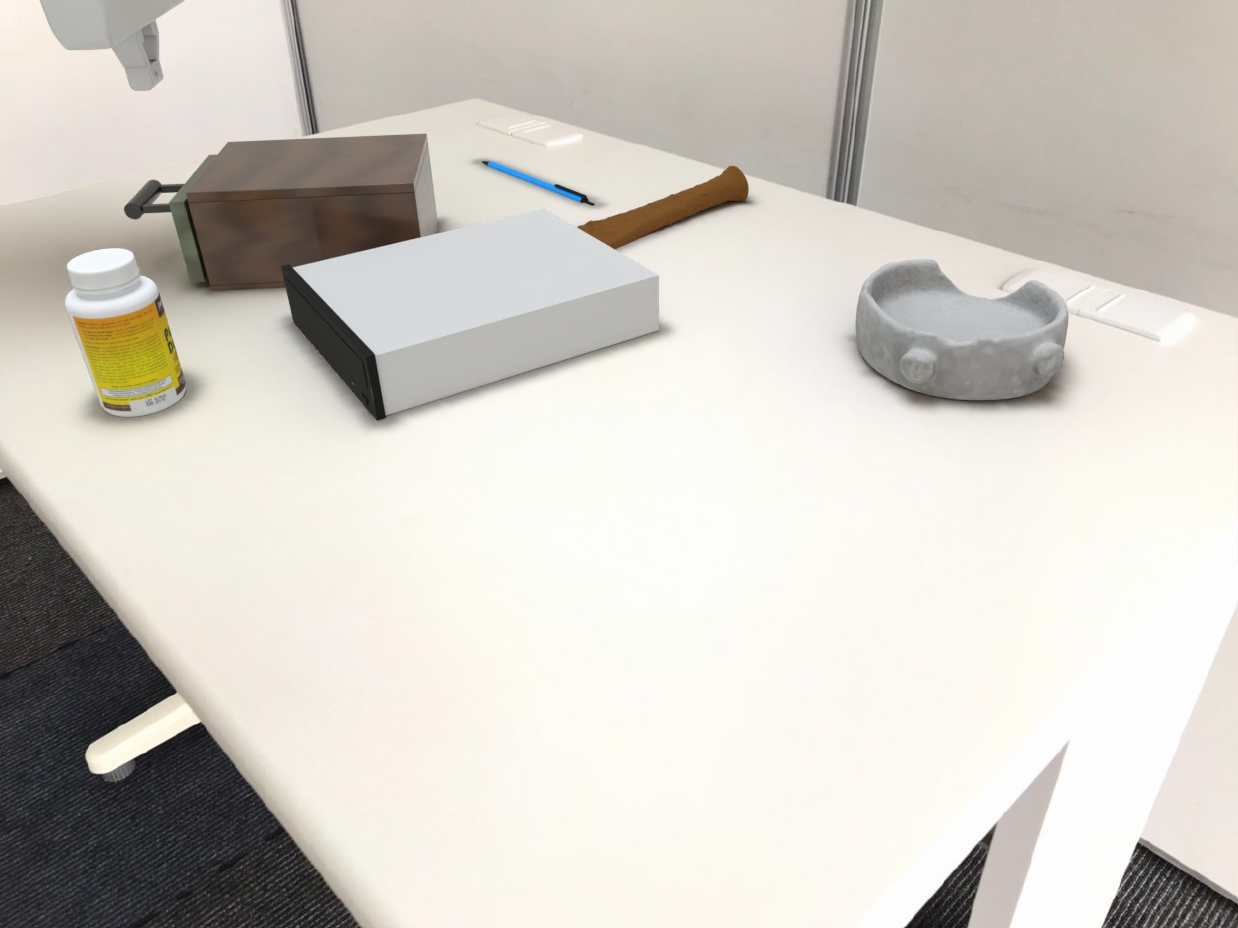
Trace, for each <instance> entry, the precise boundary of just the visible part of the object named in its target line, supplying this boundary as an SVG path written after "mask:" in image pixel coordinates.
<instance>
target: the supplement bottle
mask: <svg viewBox="0 0 1238 928" xmlns="http://www.w3.org/2000/svg"><path fill="white" fill-rule="evenodd" d="M138 265H139V264H137V260H136V257H135V254H134V253H133V252H132V251H131V250H129V249H125V248H118V247H117V248H116V247H112V248H101V249H95V250H91V251H87V252H85V253H82V254H80V255H77V256H75V257H73V258H72V259H70V260H69V261H68V262H67V264H66V270H67V273H68V276H69V279H70V283H71V285H72V289H71V290H70V291H69V292H67V295H66V297H65V299H64V306H65V311H66V313H67V316H68V319H69V322H70V325H71V328H72V330H73V334H74V336H75V339H76V342H77V345H78V347H79V350H80V353H81V356H82V358H83V361H84V364H85V367H86V370H87V372H88V375H89V378H90V381H91V383H92V386H93V389H94V393H95V394H96V397H97V400H98V402H99V404H100V406H101V408H102V409H103V410H104V411H105V412H106V413H108V414H110V415H112V416H116V417H121V418H123V417H124V418H134V417H143V416H147V415H152V414H155V413H158V412H161V411H164V410H166V409H168V408H170V407H172V406H173V405H175V404H177V403H178V402H179V401H180V400H181V399H182V398H183V397H184V395H185V394H186V391H187V383H186V379H185V375H184V371H183V368H182V364H181V362H180V359H179V355H178V351H177V348H176V345H175V342H174V339H173V334H172V330H171V328H170V324H169V321H168V318H167V314H166V311H165V307H164V304H163V301H162V297H161V294H160V291H159V288H158V285H157V284H156V283H155V281H154V280H153V279H151V278H149V277H147V276H145V275H141V272H140V271H141V270H140V267H139V266H138Z"/></svg>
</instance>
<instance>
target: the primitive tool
mask: <svg viewBox="0 0 1238 928" xmlns="http://www.w3.org/2000/svg"><path fill="white" fill-rule="evenodd" d="M749 192H750V189H749V182H748V179H747V177H746V175H745V174H744V172H743V171H742V170H741V169H740V168H739V167H738V166H736V165H729V166H728V167H727V168H726V169H724V170H723V171H722V172H721V174H719V175H716V176H714V177H712V178H710V179H709V180H707V181H704V182H702V183H699V184H695V185H694V186H692V187H690V188H686V189H683V190H681V191H679V192H676V193H671V194H669V195H668V196H666V197H663V198H659V199H657V200H655V201H652V202H648V203H646V204H645V205H642V206H639V207H636V208H633V209H629V210H627V211H624V212H621V213H618V214H614V215H611V216H608V217H606V218H603V219H596V220H589V221H587V222H585V223H584V224H582V225H578V226H576V227H577V228H579V229H580V230H582V231H584V232H586V233H587V234H589V235H591V236H592V237H594V238H596V239H598V240H599V241H601V242H603V243H604V244H606V245H608V246H610V247H611V248H613V249H615V250H616V249H619V248H621V247H624V246H625V245H627V244H630V243H632V242H634V241H636V240H638V239H640V238H642V237H645V236H647V235H649V234H651V233H653V232H655V231H657V230H660V229H661V228H664V227H667V226H670V225H673V224H674V223H677V222H679V221H682V220H685V219H688V218H690V217H692V216H694V215H696V214H698V213H700V212H704V211H706V210H707V209H711V208H713V207H716V206H720V205H722V204H724V203H727V202H740V203H741V202H744V201H746V200H747V199H748V197H749Z"/></svg>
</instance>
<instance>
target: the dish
mask: <svg viewBox="0 0 1238 928" xmlns="http://www.w3.org/2000/svg"><path fill="white" fill-rule="evenodd" d="M1069 316H1070V315H1069V309H1068V305H1067V303H1066V301H1065V299H1064V297H1062V295H1060V293H1058V291H1056V290H1054V289H1053V288H1051V287H1049V286H1048V285H1047V284H1045V283H1044V282H1041V281H1039V280H1035V279H1031V280H1029V281H1027V282H1026V283H1025V284H1024V285H1022V286H1020V287H1019V288H1017V290H1015V291H1013V292H1012V293H1009V294H1008V295H1005V296H1000V297H997V298H996V297H995V298H986V297H982V296H981V297H980V296H977V295H972V294H969V293H966V292H965V291H962V289H960V288H959V287H958V286H957V285H956V284H955V283H954V282H953V281H952V280H951V279H950V278H949V277H948V276H947V275H946V274H945V273H944V272H943V271H942V269H941V268H940V265H939V263H938V261H936V260H935V259H929V258H919V259H917V258H916V259H908V260H901V261H892V262H891V261H890V262H887V263H884V264H883V265H881V266H880V267H879V268H878V269H876V270H875V271H874V272H872V273H871V274H870V275H869V276H868V277H866V279H865V280H864V282H863V284H862V286H861V289H860V293H859V296H858V300H857V305H856V312H855V336H856V342H857V343H856V344H857V347H858V350H859V352H860V354H861V356H862V358H863V359H864V361H866V363H867V364H868V365H869V366H870V367H872V369H874V370H875V371H876V372H877V373H879V374H880V375H882V376H884V377H885V378H887V379H888V380H889V381H892V382H893V383H895V384H898V385H900V386H902V387H904V388H907V389H908V390H911V391H914V392H917V393H921V394H925V395H928V396H931V397H932V396H933V397H937V398H943V399H950V400H960V401H961V400H962V401H996V400H1006V399H1014V398H1019V397H1024V396H1028V395H1031V394H1033V393H1035V392H1037V391H1039V390H1042V388H1044V387H1045V386H1046V385H1047V384H1048V383H1049V382H1050V381H1051V379H1052V378H1053V377H1054V376H1055V375H1056V374H1057V373H1058V372H1059V370H1060V369H1061V368H1062V366H1063V363H1064V360H1065V350H1064V349H1065V345H1066V340H1067V335H1068V327H1069V318H1070V317H1069Z"/></svg>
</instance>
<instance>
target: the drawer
mask: <svg viewBox="0 0 1238 928" xmlns="http://www.w3.org/2000/svg"><path fill="white" fill-rule="evenodd" d="M217 155H218V153H217V154H208V156H206V158H205V159H204V160H203V161H202V162H201V163H200V165H199V166H198V167H197V169H196V170H195V171H194V172H193V173H192V175H190V177H189V178H188V179H187V180H186V182H185V183H167V184H162V183H161V182H160V181H159V180H156V179H149V180H147V182H146V183H144V185H143V186H142V187H141V188H140V189H139V190H138V191H137V193H135V194H134V195H133V197H132V198H130V200H129V201H128V202H127V203H126V204H125V205H124V207H123V212H124V214H125V216H126V217H127V218H129V219H130V220H135V221H136V220H139V219H141V218H142V217H143V215H144V214H162V213H163V214H164V213H171V216H172V220H173V223H174V227H175V230H176V235H177V238H178V241H179V242H178V243H179V245H180V249H181V253H182V256H183V260H184V263H185V267H186V270H187V274H188V278H189V281H190V283H191V284H193V283H206V282H207V280H208V275H207V271H206V267H205V264H204V260H203V256H202V252H201V249H200V245H199V241H198V237H197V234H196V230H195V226H194V222H193V219H192V215H191V211H190V207H189V202H188V199H187V196H186V193H187V191H188V190H189V189H190V188H191V186H192V185H193V184H194V183H195V181H196V180H197V179H198V178H199V177H200V175H201V174H202V173H203V172H204V170H205V169H206V168H207V167H208V166H209V164H210V163H211V162H212V161H213V159H214V158H215V157H216V156H217ZM173 193H174V196H173V197H172V198H171V199H170V201H169V202H168V203H155V202H156V201H157V200H158V198H159V197H160V196H161V195H162V194H173Z"/></svg>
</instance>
